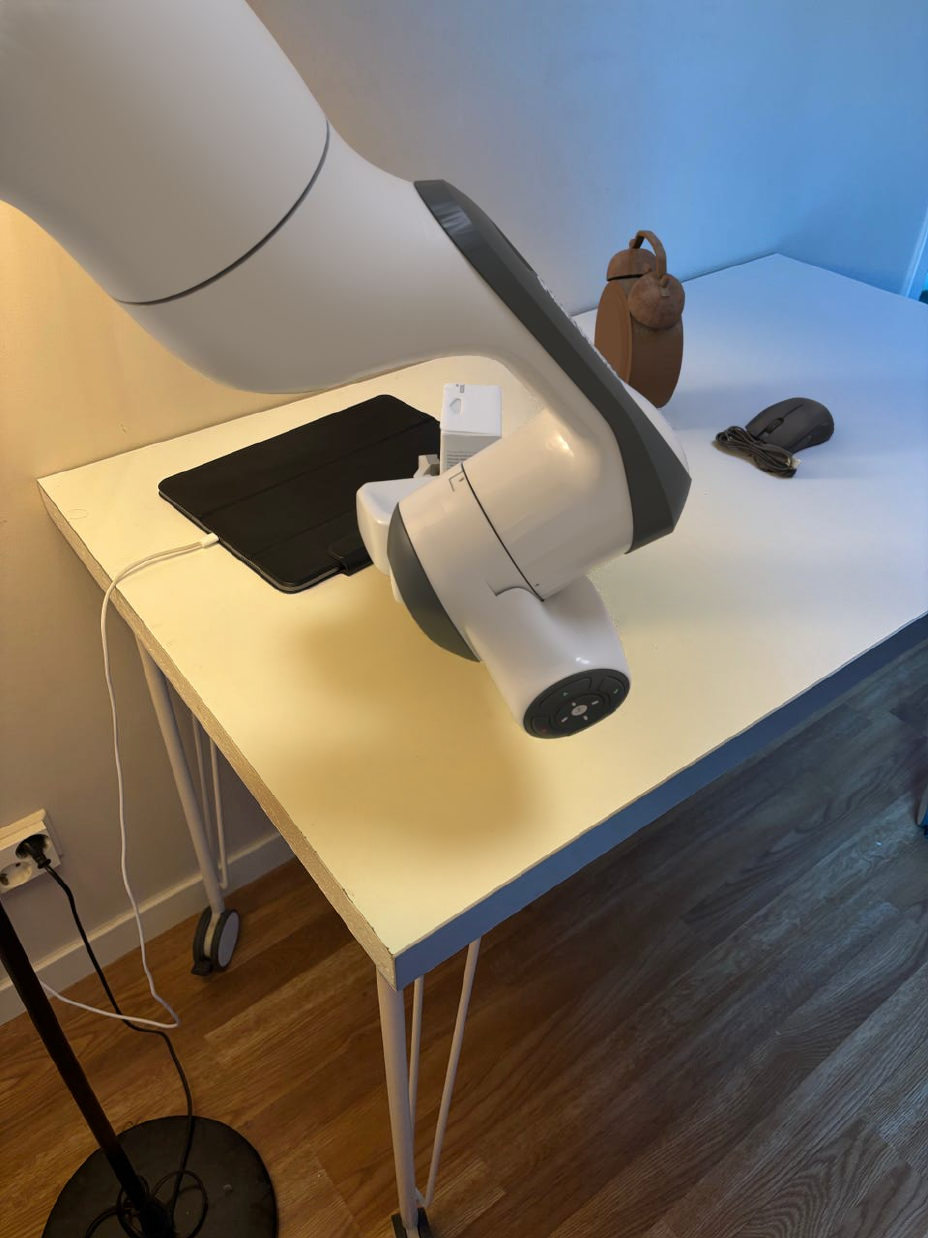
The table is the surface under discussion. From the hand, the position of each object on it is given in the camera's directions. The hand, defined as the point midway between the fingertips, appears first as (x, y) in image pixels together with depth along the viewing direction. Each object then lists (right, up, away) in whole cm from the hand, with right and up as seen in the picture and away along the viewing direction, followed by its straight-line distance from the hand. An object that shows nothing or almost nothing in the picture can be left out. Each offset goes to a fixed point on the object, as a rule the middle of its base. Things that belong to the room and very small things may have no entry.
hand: (467, 458), depth 79 cm
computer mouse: (+36, +6, +28) cm, 46 cm away
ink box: (0, -6, +4) cm, 7 cm away
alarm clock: (+19, +11, +32) cm, 39 cm away
